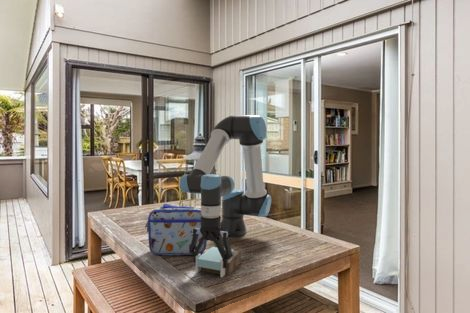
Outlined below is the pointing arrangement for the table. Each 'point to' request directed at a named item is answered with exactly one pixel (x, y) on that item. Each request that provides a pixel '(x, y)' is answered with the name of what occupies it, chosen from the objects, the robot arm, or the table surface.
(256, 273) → the table surface
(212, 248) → the teal rectangular block
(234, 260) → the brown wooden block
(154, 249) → the lunch box
